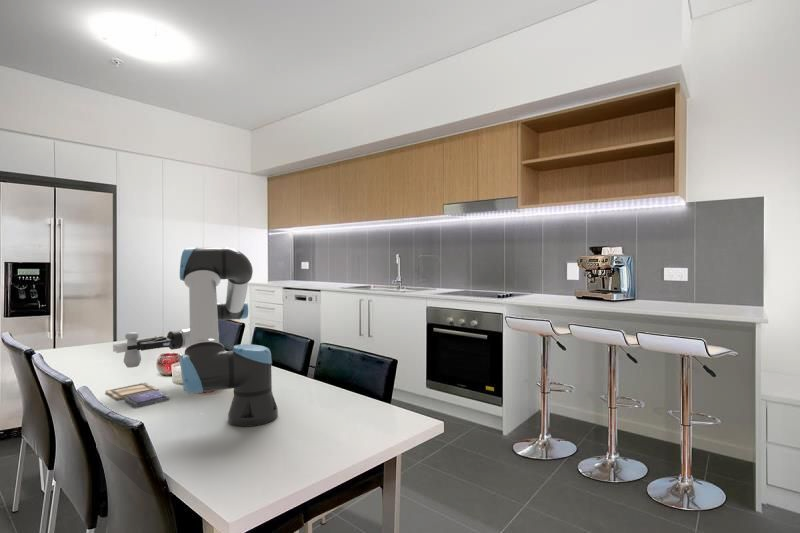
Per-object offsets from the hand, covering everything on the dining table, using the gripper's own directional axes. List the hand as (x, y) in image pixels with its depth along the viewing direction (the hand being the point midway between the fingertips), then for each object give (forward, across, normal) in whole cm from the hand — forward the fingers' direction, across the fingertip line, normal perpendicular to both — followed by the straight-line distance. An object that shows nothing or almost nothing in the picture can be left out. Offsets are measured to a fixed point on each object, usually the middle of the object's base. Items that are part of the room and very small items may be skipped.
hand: (115, 348), depth 165 cm
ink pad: (-5, -15, -18) cm, 24 cm away
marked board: (-5, 0, -18) cm, 18 cm away
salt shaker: (-6, 0, -8) cm, 10 cm away
